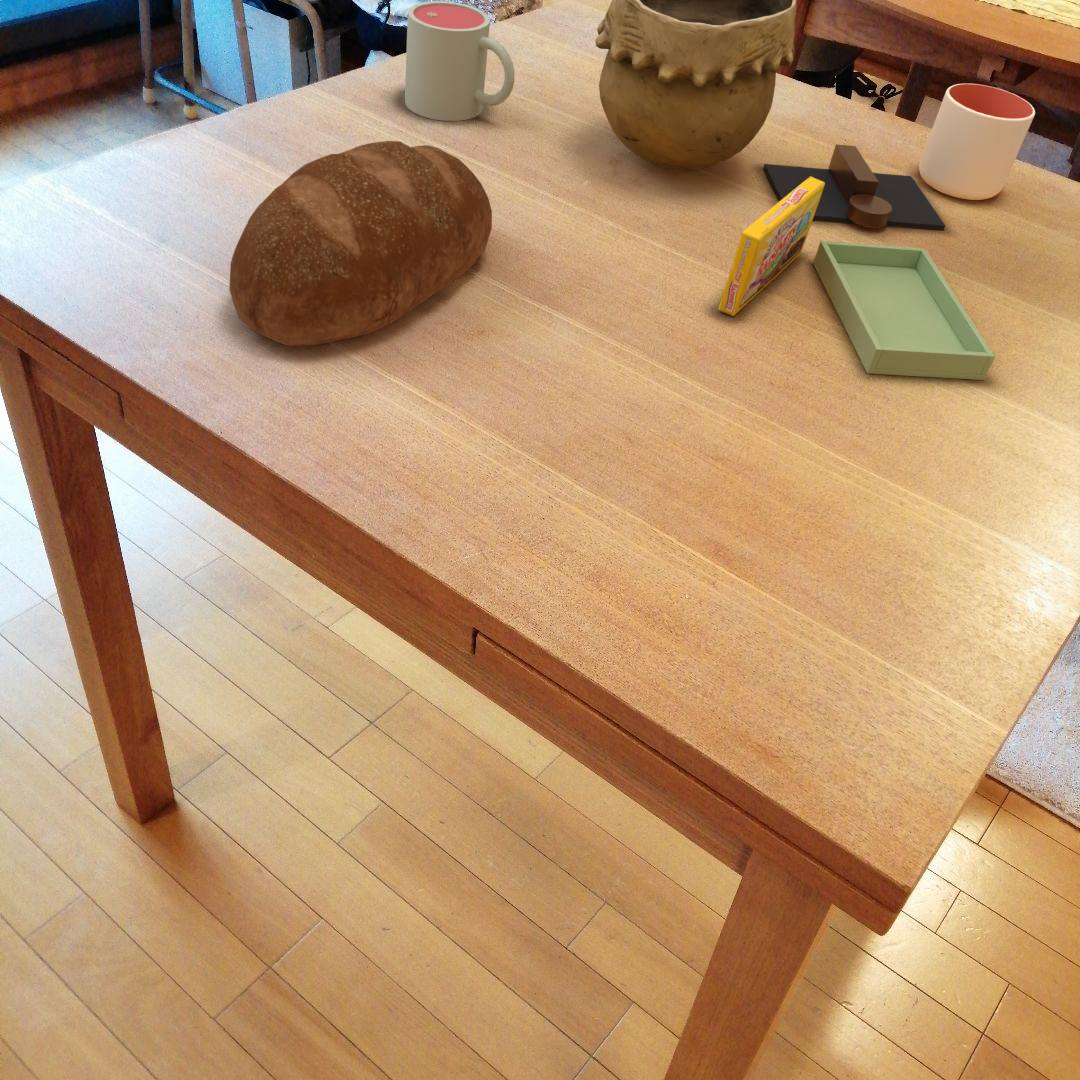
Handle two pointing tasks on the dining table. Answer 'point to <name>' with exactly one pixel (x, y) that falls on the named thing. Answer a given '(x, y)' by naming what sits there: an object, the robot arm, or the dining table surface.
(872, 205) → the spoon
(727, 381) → the dining table surface
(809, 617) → the dining table surface
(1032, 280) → the dining table surface
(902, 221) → the mat
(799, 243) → the candy box
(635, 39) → the clay pot
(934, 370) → the tray
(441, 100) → the mug
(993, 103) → the cup
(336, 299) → the bread
